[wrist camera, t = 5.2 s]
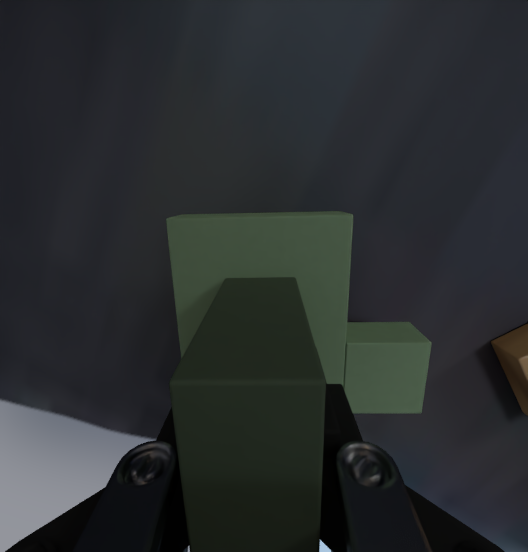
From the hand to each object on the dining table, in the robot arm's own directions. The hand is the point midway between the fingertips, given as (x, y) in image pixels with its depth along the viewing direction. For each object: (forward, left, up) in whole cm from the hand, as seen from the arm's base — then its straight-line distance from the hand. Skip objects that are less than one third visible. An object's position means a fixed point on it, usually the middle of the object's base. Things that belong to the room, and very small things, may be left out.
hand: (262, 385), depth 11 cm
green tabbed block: (+1, +1, -2) cm, 3 cm away
